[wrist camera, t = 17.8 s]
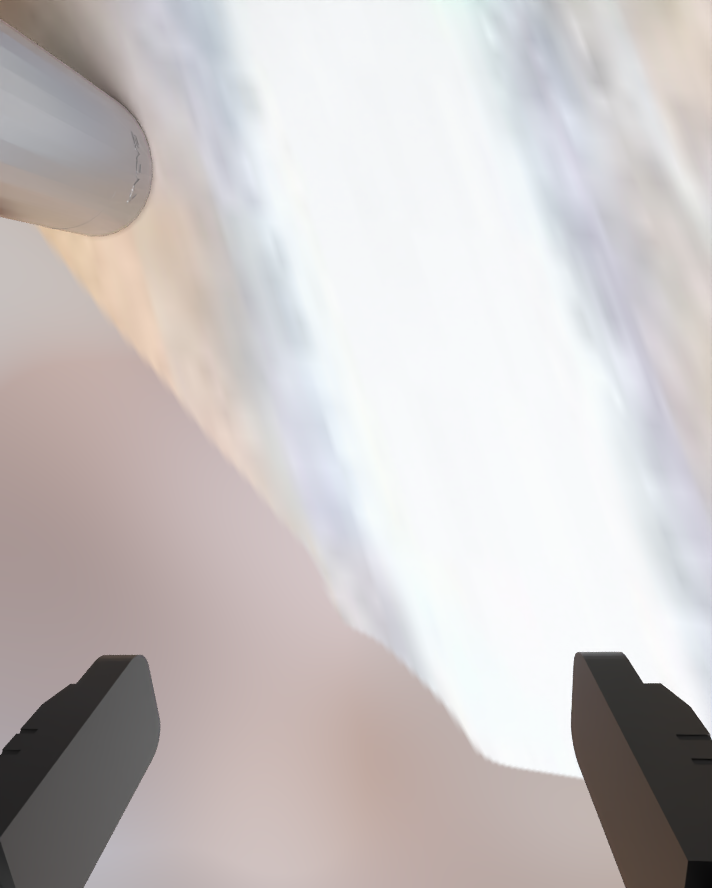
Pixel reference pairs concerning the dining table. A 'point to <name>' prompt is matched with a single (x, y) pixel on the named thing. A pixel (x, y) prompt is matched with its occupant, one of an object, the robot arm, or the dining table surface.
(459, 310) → the dining table surface
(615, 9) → the dining table surface
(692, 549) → the dining table surface
